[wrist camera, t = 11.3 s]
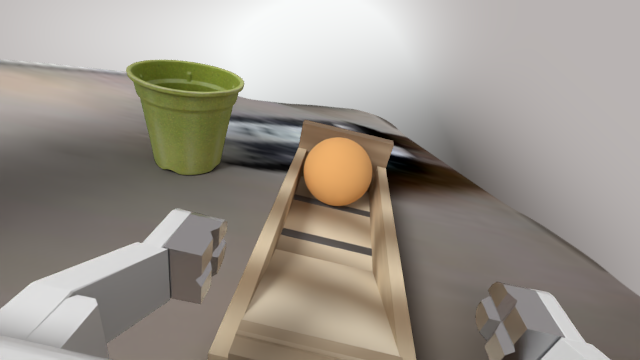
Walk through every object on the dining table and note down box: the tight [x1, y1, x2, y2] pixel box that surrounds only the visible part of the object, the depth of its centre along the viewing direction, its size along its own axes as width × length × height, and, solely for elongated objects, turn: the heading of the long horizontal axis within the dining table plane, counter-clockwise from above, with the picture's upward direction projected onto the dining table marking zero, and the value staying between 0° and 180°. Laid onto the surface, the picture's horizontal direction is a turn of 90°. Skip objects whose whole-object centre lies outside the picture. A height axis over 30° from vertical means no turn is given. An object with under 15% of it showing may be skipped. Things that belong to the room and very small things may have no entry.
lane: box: [208, 120, 416, 360], centre depth 22 cm, size 22×9×7 cm, turn 173°
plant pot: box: [126, 60, 244, 175], centre depth 30 cm, size 9×9×9 cm
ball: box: [304, 137, 372, 206], centre depth 28 cm, size 6×6×6 cm
